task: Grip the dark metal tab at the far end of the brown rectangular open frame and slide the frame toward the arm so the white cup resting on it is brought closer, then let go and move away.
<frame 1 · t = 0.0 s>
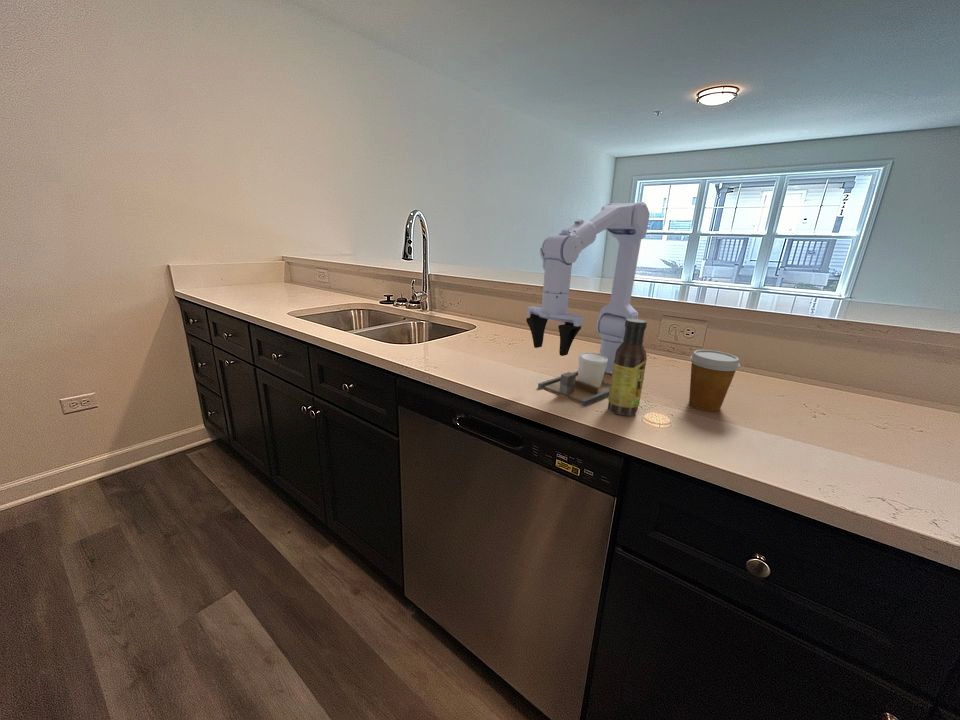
hand: (550, 350, 92), 10 cm above the worktop, tool pointing down, fingers open, 7 cm apart
sauce bottle: (622, 411, 86), on the worktop
lane rails: (585, 387, 98), on the worktop
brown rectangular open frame: (582, 379, 96), point 3 cm above the worktop, slide at 0.0 cm, touching white cup
white cup: (589, 384, 99), point 1 cm above the worktop, touching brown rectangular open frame
disposable coffee cup: (704, 406, 90), on the worktop
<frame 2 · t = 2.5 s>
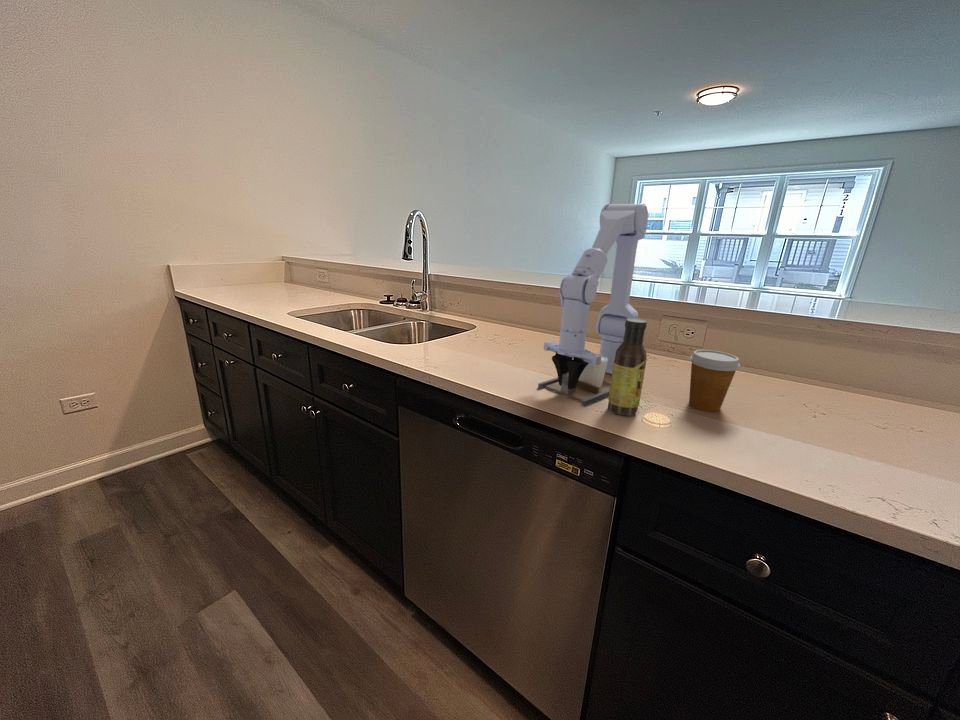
hand: (567, 386, 93), 2 cm above the worktop, tool pointing down, fingers closed on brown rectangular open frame, 2 cm apart
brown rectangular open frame: (583, 378, 97), point 3 cm above the worktop, slide at 0.5 cm, touching gripper, white cup
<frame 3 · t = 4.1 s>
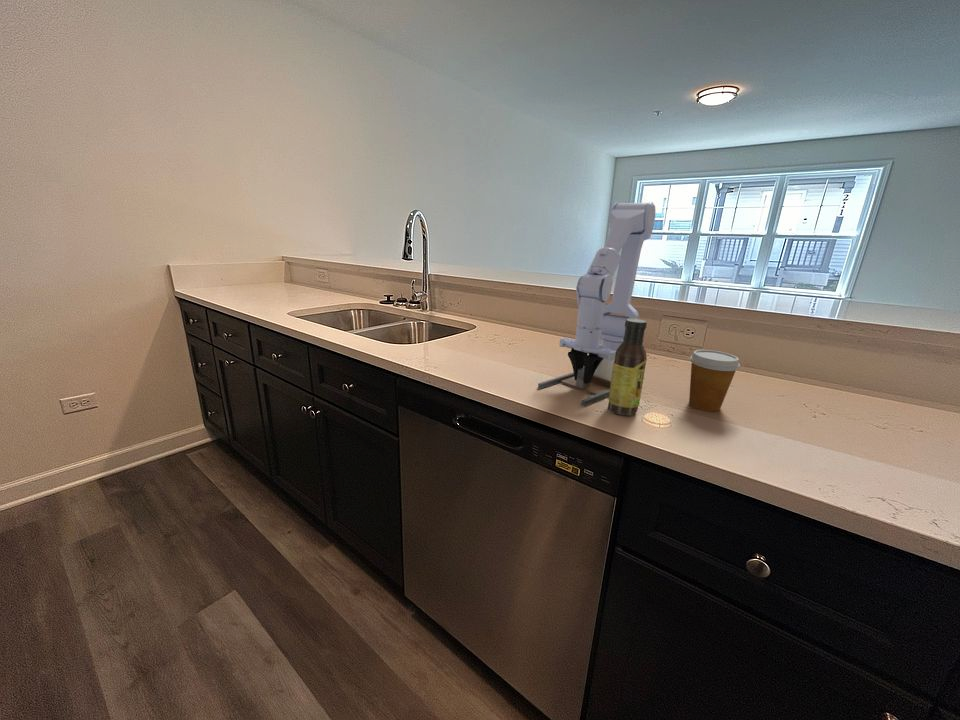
hand: (582, 381, 97), 2 cm above the worktop, tool pointing down, fingers closed on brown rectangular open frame, 2 cm apart
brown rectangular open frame: (597, 374, 100), point 3 cm above the worktop, slide at 6.4 cm, touching gripper, white cup
white cup: (603, 379, 103), resting on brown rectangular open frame
everything else where it was.
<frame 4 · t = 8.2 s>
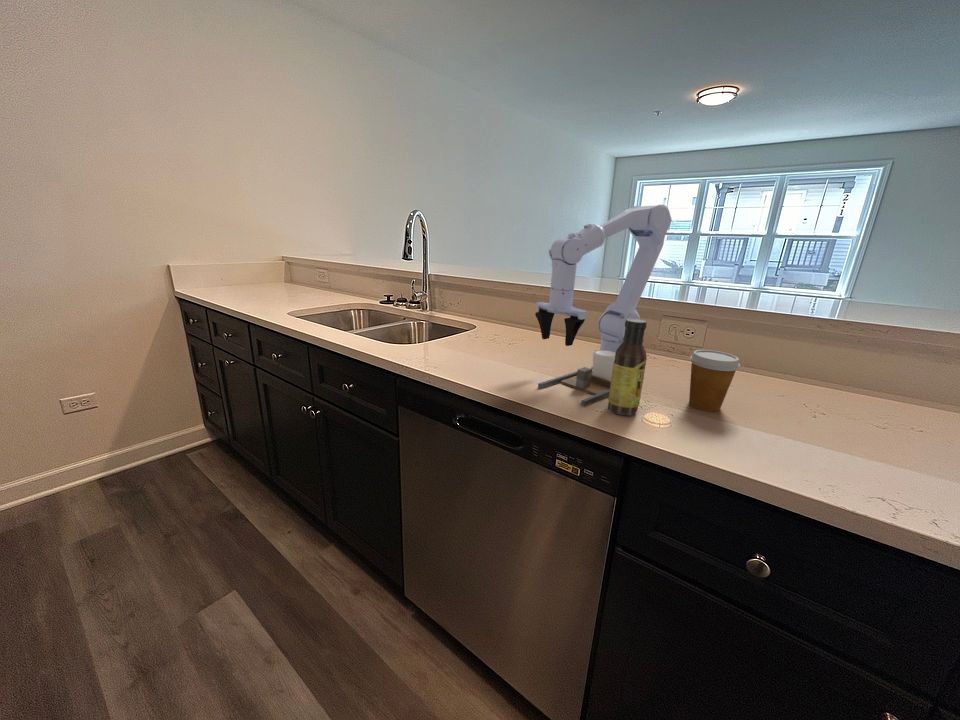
hand: (556, 341, 102), 9 cm above the worktop, tool pointing down, fingers open, 7 cm apart
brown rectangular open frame: (597, 374, 100), point 3 cm above the worktop, slide at 6.4 cm, touching white cup
everything else where it was.
at the end: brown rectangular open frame slide at 6.4 cm; white cup inside the target area (0.3 cm from its centre), resting on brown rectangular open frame; white cup tilted 0° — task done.
